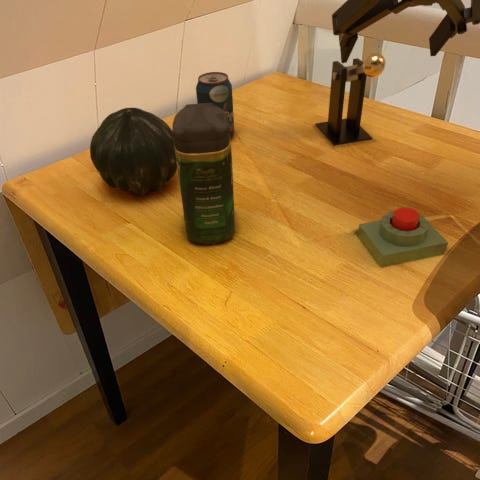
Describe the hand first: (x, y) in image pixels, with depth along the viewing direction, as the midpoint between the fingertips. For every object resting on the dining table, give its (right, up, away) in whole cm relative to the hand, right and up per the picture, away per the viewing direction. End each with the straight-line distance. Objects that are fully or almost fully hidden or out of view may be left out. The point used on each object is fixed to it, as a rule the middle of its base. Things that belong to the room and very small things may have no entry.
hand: (387, 50), depth 73 cm
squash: (-40, -16, +16) cm, 46 cm away
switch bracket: (-2, -4, +25) cm, 25 cm away
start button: (+1, -27, -4) cm, 27 cm away
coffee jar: (-27, -26, +4) cm, 38 cm away
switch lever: (-1, +1, +12) cm, 12 cm away
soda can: (-27, -3, +27) cm, 38 cm away
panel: (+1, -30, -1) cm, 30 cm away
